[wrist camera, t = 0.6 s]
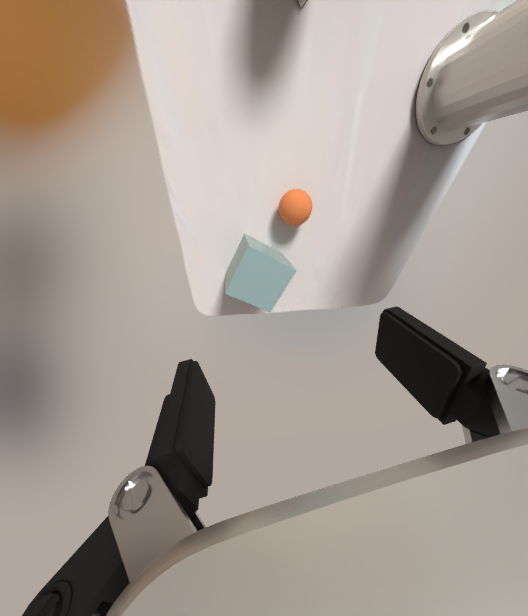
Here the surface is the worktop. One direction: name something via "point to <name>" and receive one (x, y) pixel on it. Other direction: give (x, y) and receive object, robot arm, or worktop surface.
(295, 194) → the ball
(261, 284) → the mint green cube
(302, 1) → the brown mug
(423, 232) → the worktop surface
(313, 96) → the worktop surface
